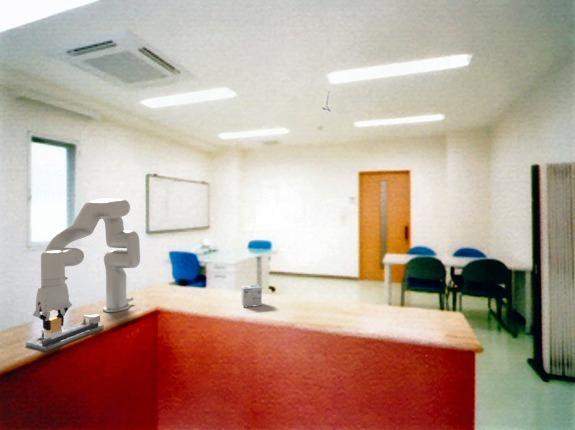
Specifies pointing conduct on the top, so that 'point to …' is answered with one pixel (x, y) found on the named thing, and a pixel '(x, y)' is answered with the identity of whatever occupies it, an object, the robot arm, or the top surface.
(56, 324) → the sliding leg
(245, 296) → the light bulb box
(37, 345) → the base
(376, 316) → the top surface
